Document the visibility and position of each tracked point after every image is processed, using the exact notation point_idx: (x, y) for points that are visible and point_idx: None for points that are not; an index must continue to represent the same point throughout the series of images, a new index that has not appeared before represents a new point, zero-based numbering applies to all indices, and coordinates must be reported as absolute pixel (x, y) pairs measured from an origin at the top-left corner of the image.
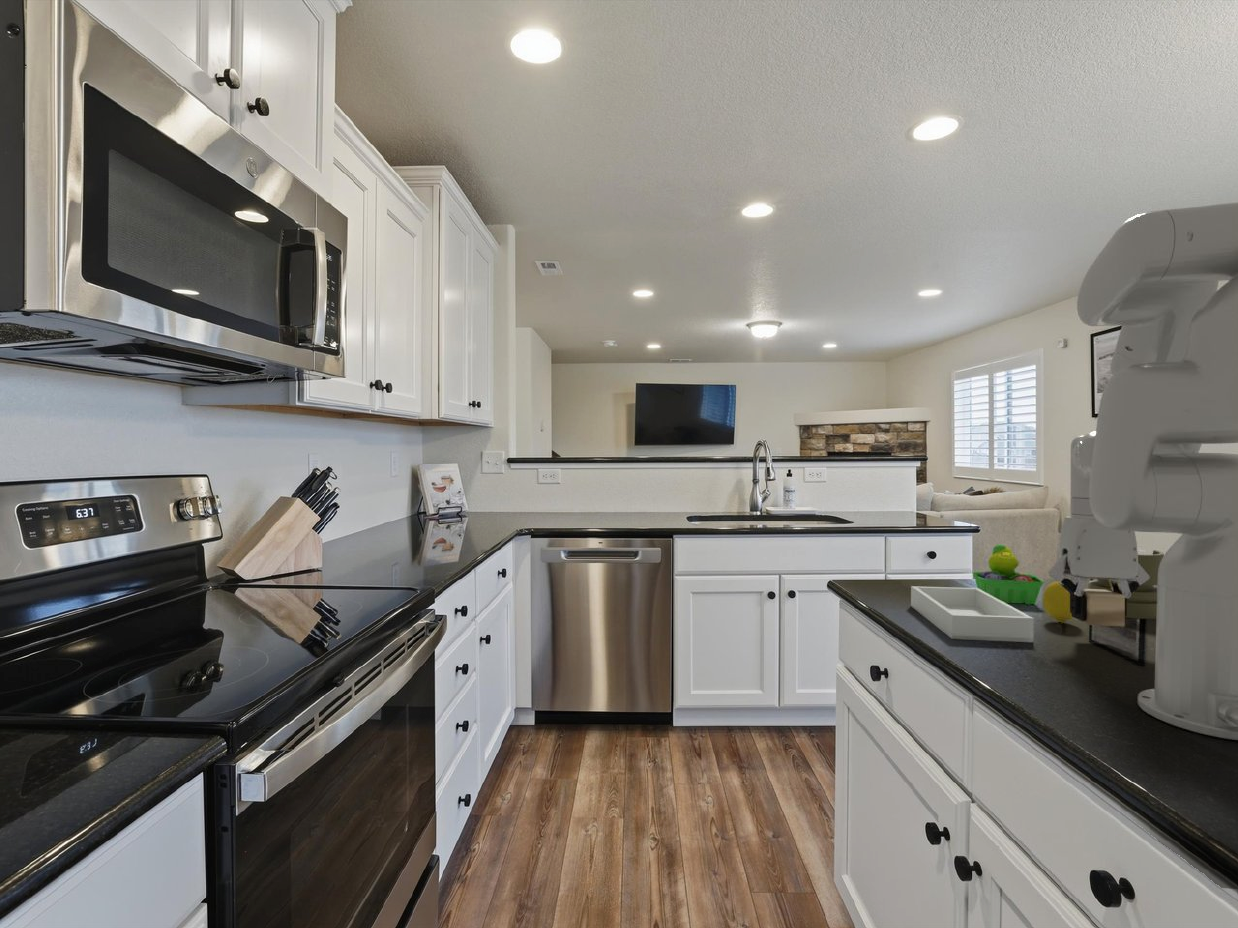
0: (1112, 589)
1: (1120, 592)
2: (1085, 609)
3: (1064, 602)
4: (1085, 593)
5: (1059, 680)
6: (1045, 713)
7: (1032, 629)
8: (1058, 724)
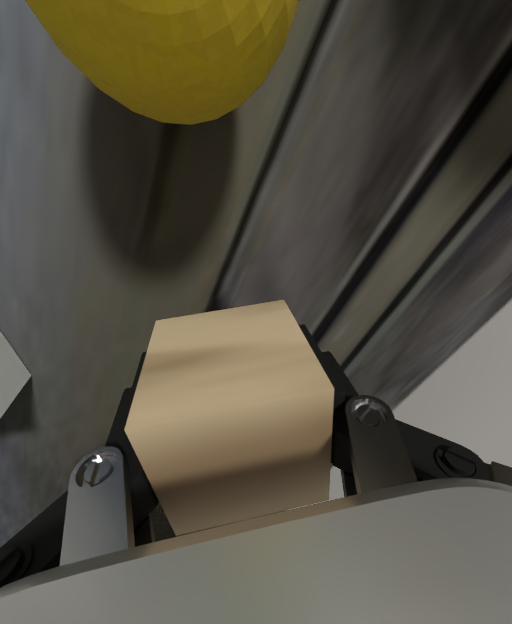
0: (346, 435)
1: (343, 472)
2: None
3: (157, 119)
4: (165, 505)
5: None
6: None
7: (4, 408)
8: None
